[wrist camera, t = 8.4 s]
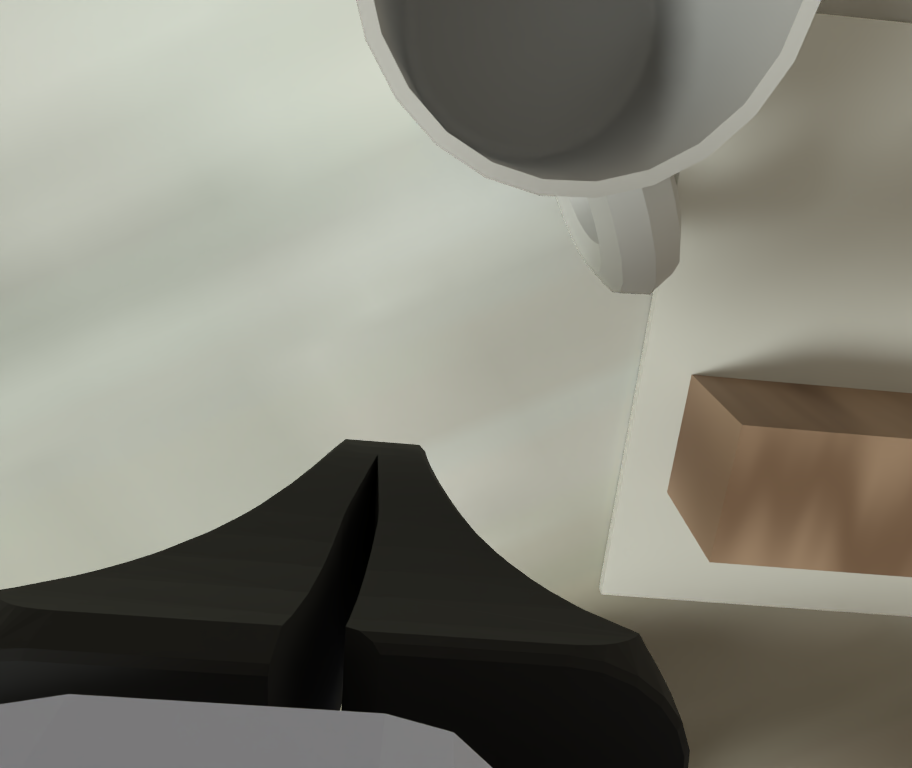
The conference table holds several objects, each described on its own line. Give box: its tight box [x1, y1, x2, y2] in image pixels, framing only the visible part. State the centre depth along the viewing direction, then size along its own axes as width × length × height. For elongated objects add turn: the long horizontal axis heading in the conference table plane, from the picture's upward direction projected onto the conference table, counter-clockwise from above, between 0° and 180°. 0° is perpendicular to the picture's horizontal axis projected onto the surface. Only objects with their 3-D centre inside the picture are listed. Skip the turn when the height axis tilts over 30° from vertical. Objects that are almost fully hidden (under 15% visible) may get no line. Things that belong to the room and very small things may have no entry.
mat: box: [599, 13, 912, 617], centre depth 22 cm, size 18×16×1 cm
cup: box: [356, 0, 821, 294], centre depth 15 cm, size 7×10×9 cm
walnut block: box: [667, 375, 912, 577], centre depth 21 cm, size 4×4×8 cm
